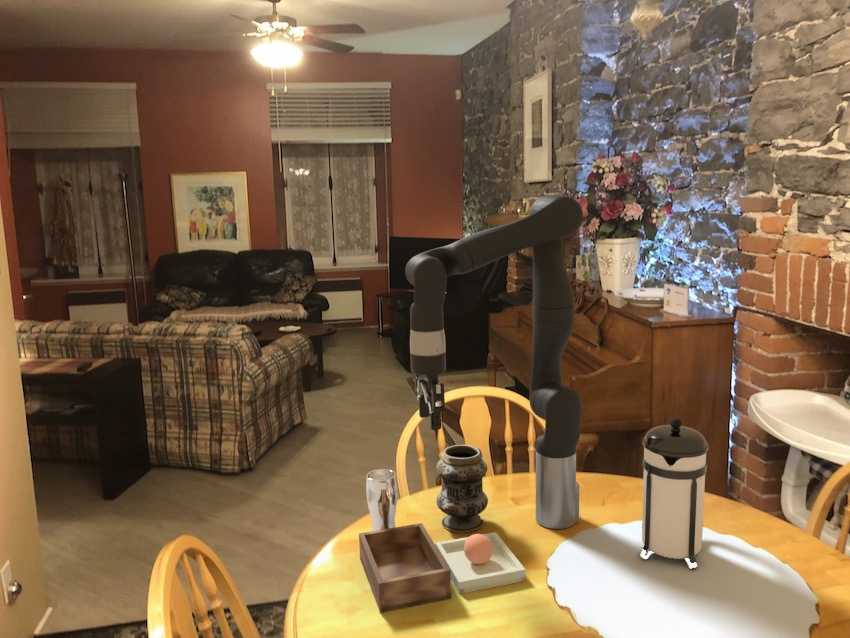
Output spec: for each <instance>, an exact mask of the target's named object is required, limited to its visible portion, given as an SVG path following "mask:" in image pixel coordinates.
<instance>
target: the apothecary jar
mask: <svg viewBox="0 0 850 638" xmlns="http://www.w3.org/2000/svg"><path fill="white" fill-rule="evenodd" d="M487 472H488V464H487V461H486V460H485V459H484V457H482V455H481V451H480V450H479V448H477V447H475V446H473V445H470V444H455V445H451V446H447V447H446V448H445V449H444V450H443V454H442V457H441V458H440V459H439V460H438V462H437V463H436V473H437V474H438V475H439V476H440V477H441V490H440V491H439V493H438V494H437V496H436V499H435V501H436V503H435V504H436V506H437V507H438V509H439V510H440V511H441V512H442V513H444V514H446V515H445V516H444V517H443V518H442V520H441V525H442V527H443V528H444V529H445V530H448V531H449V532H453V533H459V534H460V533H462V534H464V533H467V534H469V533H473V532H476V531H478V530H480V529H482V527H483V526H484V522H485V521H484V519H482V517H481V516H480V514H481V513H482V512H484V511H485V510H486V509H487V506H488V503H489V499H488V495H487V494H486V492H485V491H483V477H484V476H485V475H486V474H487Z"/></svg>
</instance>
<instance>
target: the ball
mask: <svg viewBox="0 0 850 638" xmlns="http://www.w3.org/2000/svg"><path fill="white" fill-rule="evenodd" d="M482 534H483V533H482ZM482 534H481V533H475V534H472V535H470V536H468V537H469V538H468V539H467V540H466V542H465V544H464V553H465V556H466V558H467V559H468V560H469V561H470V562H472V563H474V564H483V563H485V562H487V561H488V560H489V559H490V558H491V556H492V553H493V546H492V543H491V541H490V540H489V538H487V537H486V536H485V535H482Z"/></svg>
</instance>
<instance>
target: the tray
mask: <svg viewBox="0 0 850 638" xmlns="http://www.w3.org/2000/svg"><path fill="white" fill-rule="evenodd" d="M482 535H485V536H486V537H487V538H489V540H490V541H491V543H492V546H493V553H492V556H491V558H490V559H489V560H488V561H487V562H485V563H483V564H474V563H472V562H470V561H469V560H468V559H467V558H466V556H465V553H464V544H465V542H466V540H467V539H468V538H469V537H470V536H466V537H462V538H455V539H454V538H453V539H449V540H444V541H438V542H435V543H434V544H435V546H436V547H437V549H438V551H439V552H440V554H441V556H442V557H443V559H444V561H445V562H446V564H447V566H448V567H449V569H450V578H451V583H452V584H453V586H454V588H455V589H456V591H457V593H458V594H466V593H471V592H476V591H481V590H486V589H490V588H496V587H501V586H505V585H506V586H507V585H511V584H515V583H521V582H526V568H525V567H524V566H523V564H522V563H521V562H520V560H519V559H518V558H517V557H516V556H515V554H514V553H513V552H512V551H511V550H510V547H508V546H507V545H506V543H505V542H504V541H503V539H502V537H500V535H499V534H498V533H497V532H496V531H495V532H488V533H482Z"/></svg>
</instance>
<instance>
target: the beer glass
mask: <svg viewBox="0 0 850 638" xmlns="http://www.w3.org/2000/svg"><path fill="white" fill-rule="evenodd" d="M396 476H397V474H396V472H395V471H394V470H391V469H386V468H379V469H378V468H377V469H373V470H371V471H369V472H368V473H366V486H365V492H366V493H365V495H366V500H367V501H366V502H367V507H368V511H369V514H370V515H369V516H370V519H371V520H370V521H371V528H370V529H371V530H370V532H371V531H377V530H383V529H389V528H395V527H397V526H396V520H395V519H396V512H397V505H398V484H397V477H396Z"/></svg>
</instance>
